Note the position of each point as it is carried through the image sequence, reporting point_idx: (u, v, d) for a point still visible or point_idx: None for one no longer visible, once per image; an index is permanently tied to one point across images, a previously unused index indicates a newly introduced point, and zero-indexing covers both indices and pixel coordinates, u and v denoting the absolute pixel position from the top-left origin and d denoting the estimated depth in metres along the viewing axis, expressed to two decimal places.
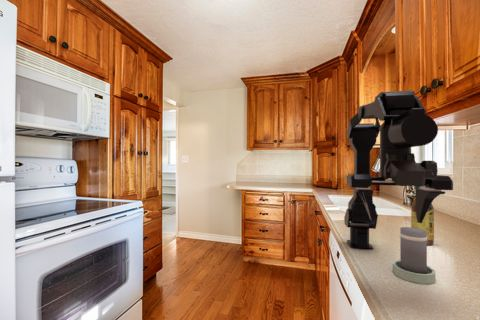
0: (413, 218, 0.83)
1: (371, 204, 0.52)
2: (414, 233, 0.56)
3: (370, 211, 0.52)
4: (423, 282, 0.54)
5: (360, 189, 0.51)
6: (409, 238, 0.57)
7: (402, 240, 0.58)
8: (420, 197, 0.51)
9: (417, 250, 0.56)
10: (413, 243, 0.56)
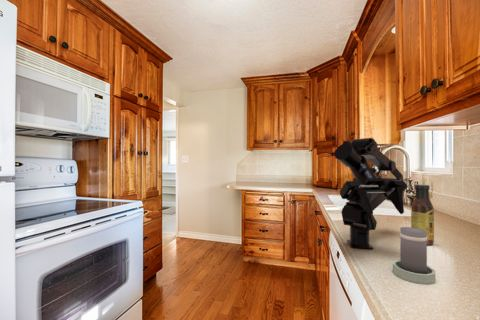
0: (413, 218, 0.83)
1: None
2: (414, 233, 0.56)
3: None
4: (423, 282, 0.54)
5: None
6: (409, 238, 0.57)
7: (402, 240, 0.58)
8: None
9: (417, 250, 0.56)
10: (413, 243, 0.56)
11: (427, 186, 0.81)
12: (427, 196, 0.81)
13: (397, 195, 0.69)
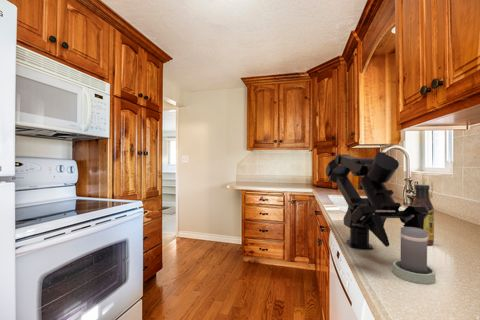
0: None
1: None
2: (415, 233, 0.56)
3: None
4: (423, 282, 0.54)
5: None
6: (409, 238, 0.56)
7: (402, 240, 0.58)
8: None
9: (417, 250, 0.56)
10: (413, 244, 0.56)
11: (427, 186, 0.81)
12: (427, 196, 0.81)
13: (417, 224, 0.61)
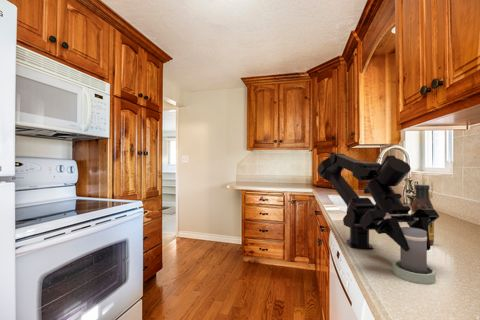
0: None
1: None
2: (414, 233, 0.56)
3: None
4: (423, 282, 0.54)
5: None
6: (409, 238, 0.57)
7: None
8: None
9: (417, 250, 0.56)
10: (413, 243, 0.56)
11: (427, 186, 0.81)
12: (427, 196, 0.81)
13: (421, 227, 0.60)
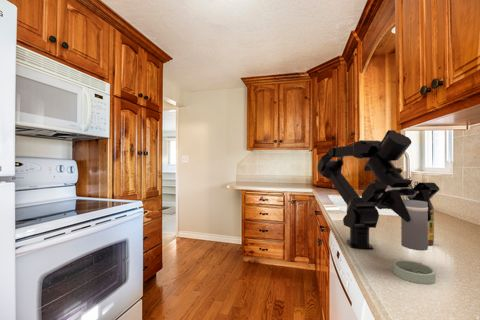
0: None
1: None
2: (415, 203, 0.56)
3: None
4: (423, 282, 0.54)
5: None
6: (410, 209, 0.57)
7: None
8: None
9: (418, 220, 0.56)
10: (414, 214, 0.57)
11: None
12: None
13: (422, 199, 0.60)
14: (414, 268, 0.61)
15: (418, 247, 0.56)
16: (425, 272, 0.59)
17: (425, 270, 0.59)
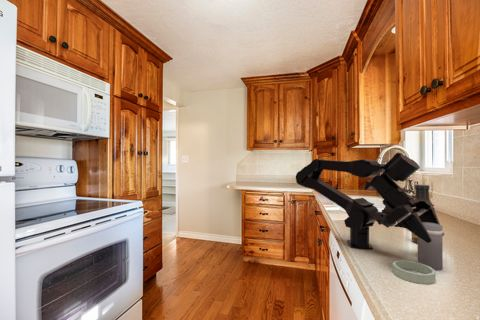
0: None
1: None
2: (437, 227, 0.61)
3: None
4: (423, 282, 0.54)
5: None
6: (433, 232, 0.61)
7: None
8: None
9: (439, 242, 0.61)
10: (436, 237, 0.61)
11: (427, 186, 0.81)
12: (427, 196, 0.81)
13: (433, 217, 0.67)
14: (414, 268, 0.61)
15: (439, 268, 0.61)
16: (425, 272, 0.59)
17: (425, 270, 0.59)
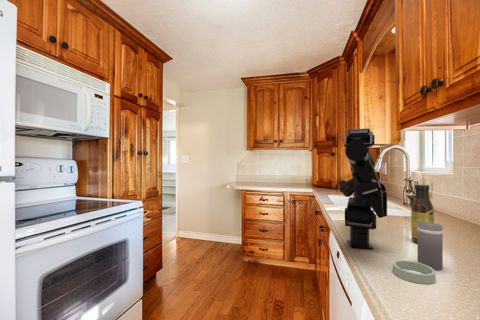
0: (413, 218, 0.83)
1: None
2: (437, 227, 0.61)
3: None
4: (423, 282, 0.54)
5: None
6: (433, 232, 0.61)
7: (424, 235, 0.63)
8: None
9: (439, 242, 0.61)
10: (436, 237, 0.61)
11: (427, 186, 0.81)
12: (427, 196, 0.81)
13: (384, 199, 0.74)
14: (414, 268, 0.61)
15: (439, 268, 0.61)
16: (425, 272, 0.59)
17: (425, 270, 0.59)
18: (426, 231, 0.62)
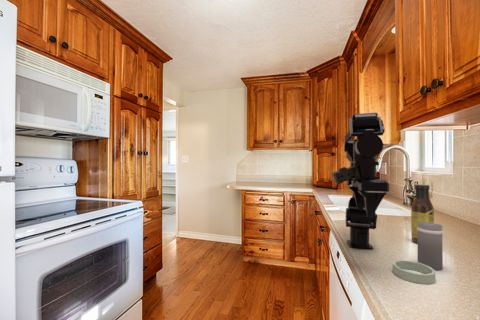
0: (413, 218, 0.83)
1: (355, 198, 0.72)
2: (436, 227, 0.61)
3: (356, 203, 0.72)
4: (423, 282, 0.54)
5: (348, 186, 0.75)
6: (432, 232, 0.61)
7: (424, 235, 0.63)
8: None
9: (439, 242, 0.61)
10: (436, 237, 0.61)
11: (427, 186, 0.81)
12: (427, 196, 0.81)
13: None
14: (414, 268, 0.61)
15: (439, 268, 0.61)
16: (425, 272, 0.59)
17: (425, 270, 0.59)
18: (426, 231, 0.62)
